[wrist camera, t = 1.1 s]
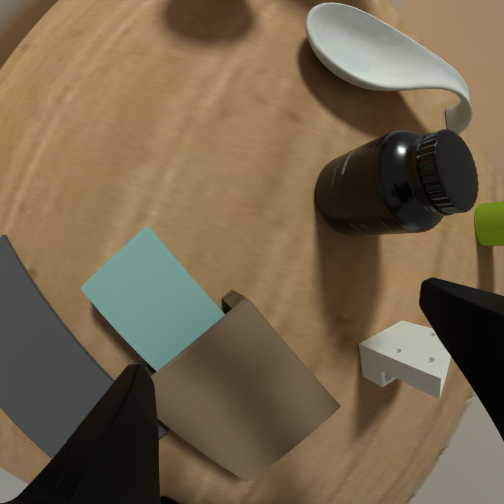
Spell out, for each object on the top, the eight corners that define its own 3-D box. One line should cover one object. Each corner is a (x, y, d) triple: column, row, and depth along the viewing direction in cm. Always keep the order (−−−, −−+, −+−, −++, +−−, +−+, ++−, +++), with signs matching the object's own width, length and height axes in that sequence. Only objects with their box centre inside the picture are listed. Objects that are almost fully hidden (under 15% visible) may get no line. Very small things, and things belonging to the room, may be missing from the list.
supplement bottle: (311, 153, 23) (413, 92, 11) (374, 166, 25) (477, 130, 13) (312, 235, 23) (429, 223, 11) (376, 239, 25) (489, 234, 13)
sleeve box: (232, 447, 21) (246, 481, 17) (139, 366, 19) (132, 396, 15) (311, 382, 23) (340, 406, 18) (232, 289, 21) (250, 300, 17)
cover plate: (217, 409, 21) (224, 428, 18) (91, 282, 19) (80, 288, 16) (271, 362, 23) (285, 376, 20) (151, 228, 20) (148, 224, 17)
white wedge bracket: (332, 372, 21) (441, 378, 15) (376, 321, 28) (455, 317, 22) (338, 407, 21) (437, 417, 15) (379, 351, 28) (455, 350, 22)
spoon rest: (287, 77, 23) (324, 33, 16) (297, 7, 23) (325, -33, 16) (452, 160, 29) (495, 149, 22) (443, 89, 30) (478, 73, 23)
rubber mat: (85, 481, 17) (84, 484, 17) (-55, 320, 14) (-58, 321, 13) (167, 428, 20) (167, 431, 19) (6, 235, 16) (3, 234, 16)
